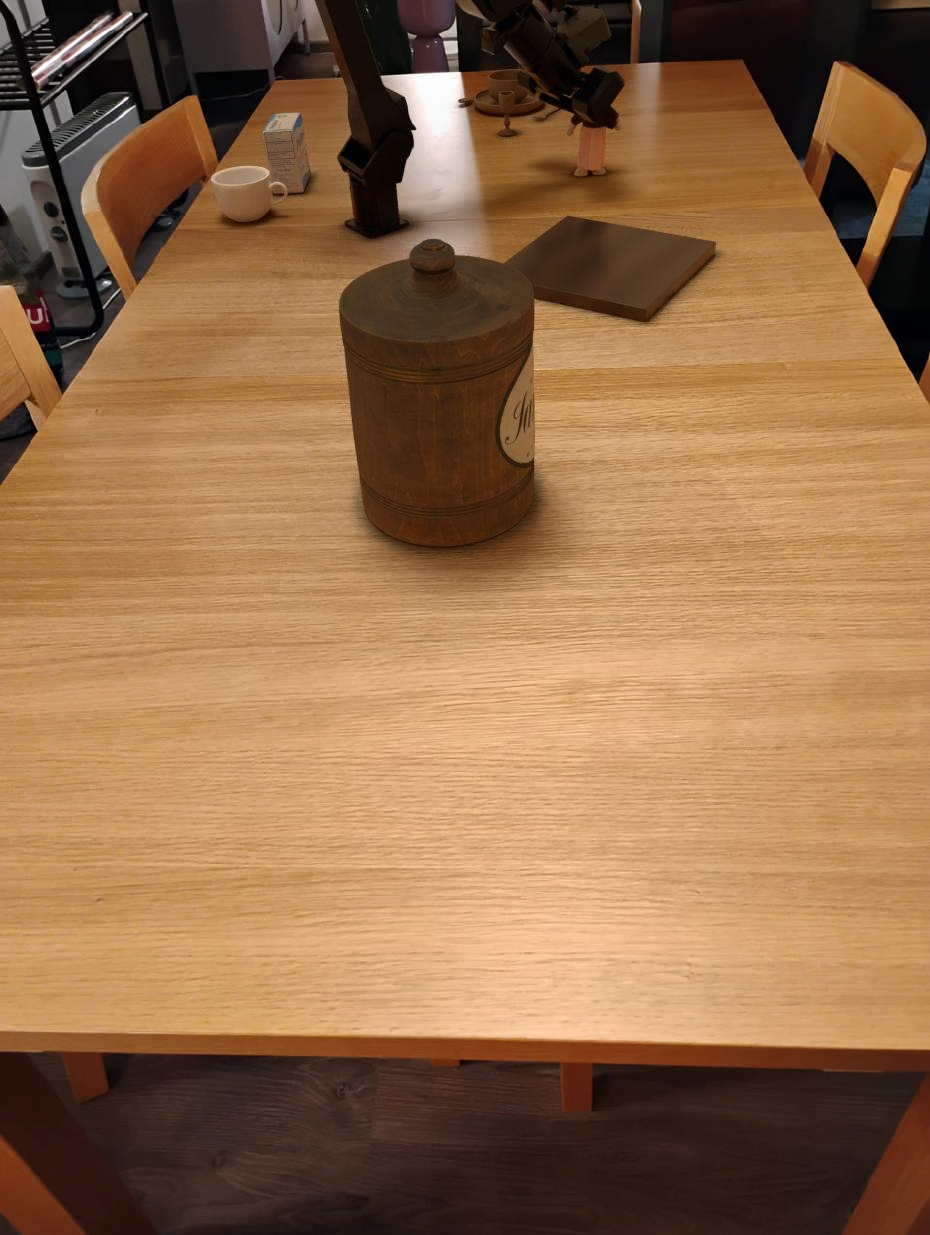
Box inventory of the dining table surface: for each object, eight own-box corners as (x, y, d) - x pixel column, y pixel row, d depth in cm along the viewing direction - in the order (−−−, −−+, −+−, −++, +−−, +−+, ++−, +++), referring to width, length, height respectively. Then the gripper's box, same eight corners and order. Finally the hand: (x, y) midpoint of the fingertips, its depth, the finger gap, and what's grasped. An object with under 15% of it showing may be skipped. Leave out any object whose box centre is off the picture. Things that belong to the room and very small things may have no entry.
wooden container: (559, 526, 82) (564, 265, 67) (384, 565, 79) (348, 302, 64) (504, 434, 92) (497, 191, 77) (347, 466, 90) (310, 221, 75)
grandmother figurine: (572, 180, 140) (574, 81, 132) (563, 172, 143) (564, 74, 135) (623, 172, 142) (628, 74, 133) (613, 164, 144) (618, 67, 136)
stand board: (714, 253, 120) (716, 241, 119) (645, 322, 107) (646, 309, 106) (567, 227, 128) (567, 215, 127) (487, 287, 116) (486, 275, 115)
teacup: (212, 226, 134) (203, 185, 131) (229, 205, 140) (221, 165, 136) (283, 226, 133) (276, 185, 129) (298, 205, 138) (291, 165, 135)
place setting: (573, 102, 168) (574, 63, 164) (513, 138, 155) (512, 97, 151) (484, 91, 175) (483, 54, 171) (421, 124, 163) (418, 85, 159)
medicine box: (303, 193, 142) (293, 129, 136) (273, 195, 142) (261, 130, 136) (311, 174, 148) (301, 111, 142) (281, 176, 148) (271, 113, 142)
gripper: (616, -1, 119) (681, 83, 130) (535, -24, 132) (601, 55, 143) (559, 83, 122) (628, 159, 133) (485, 52, 134) (554, 124, 145)
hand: (603, 121), depth 138 cm, fingers open, 5 cm apart
